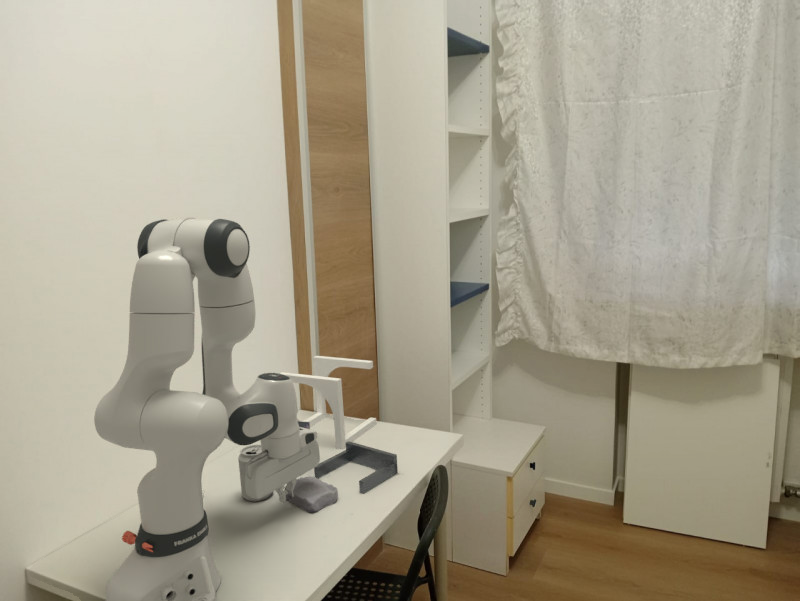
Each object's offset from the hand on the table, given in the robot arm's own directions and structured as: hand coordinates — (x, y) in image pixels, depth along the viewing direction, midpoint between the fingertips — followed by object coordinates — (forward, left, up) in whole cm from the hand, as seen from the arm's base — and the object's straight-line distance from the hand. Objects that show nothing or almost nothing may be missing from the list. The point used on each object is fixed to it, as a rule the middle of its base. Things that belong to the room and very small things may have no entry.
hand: (286, 499), depth 155 cm
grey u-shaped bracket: (+23, -1, -3) cm, 23 cm away
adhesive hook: (-6, +23, -4) cm, 24 cm away
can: (+1, +12, -3) cm, 13 cm away
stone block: (+8, -1, -4) cm, 9 cm away
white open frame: (+40, +25, -3) cm, 48 cm away
